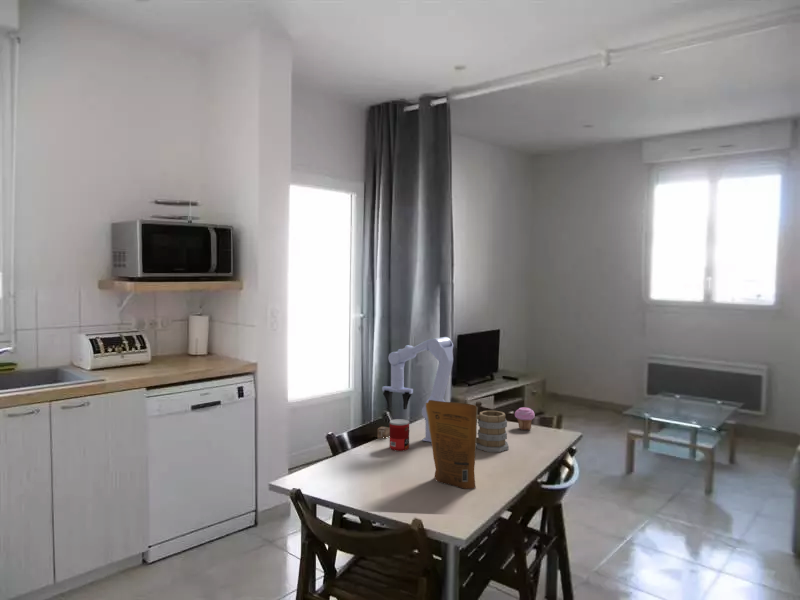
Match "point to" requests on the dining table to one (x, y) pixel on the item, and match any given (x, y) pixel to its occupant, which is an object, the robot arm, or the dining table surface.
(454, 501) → the dining table surface
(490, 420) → the tankard
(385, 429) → the letter cube
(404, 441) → the canned food
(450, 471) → the pancake mix bag
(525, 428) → the cupcake
